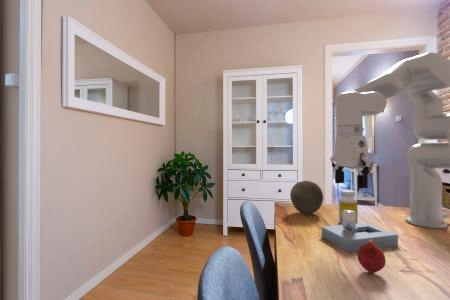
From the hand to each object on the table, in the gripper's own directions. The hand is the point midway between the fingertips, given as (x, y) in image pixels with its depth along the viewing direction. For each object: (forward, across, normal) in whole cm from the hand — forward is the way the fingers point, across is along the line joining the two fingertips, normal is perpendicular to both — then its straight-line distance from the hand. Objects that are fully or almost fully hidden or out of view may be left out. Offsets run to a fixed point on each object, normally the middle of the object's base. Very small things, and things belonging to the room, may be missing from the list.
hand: (350, 185), depth 76 cm
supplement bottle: (+19, +16, -12) cm, 27 cm away
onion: (+18, -17, +10) cm, 27 cm away
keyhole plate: (+18, 0, -2) cm, 18 cm away
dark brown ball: (+19, +31, -3) cm, 36 cm away
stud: (+18, 0, +1) cm, 18 cm away
